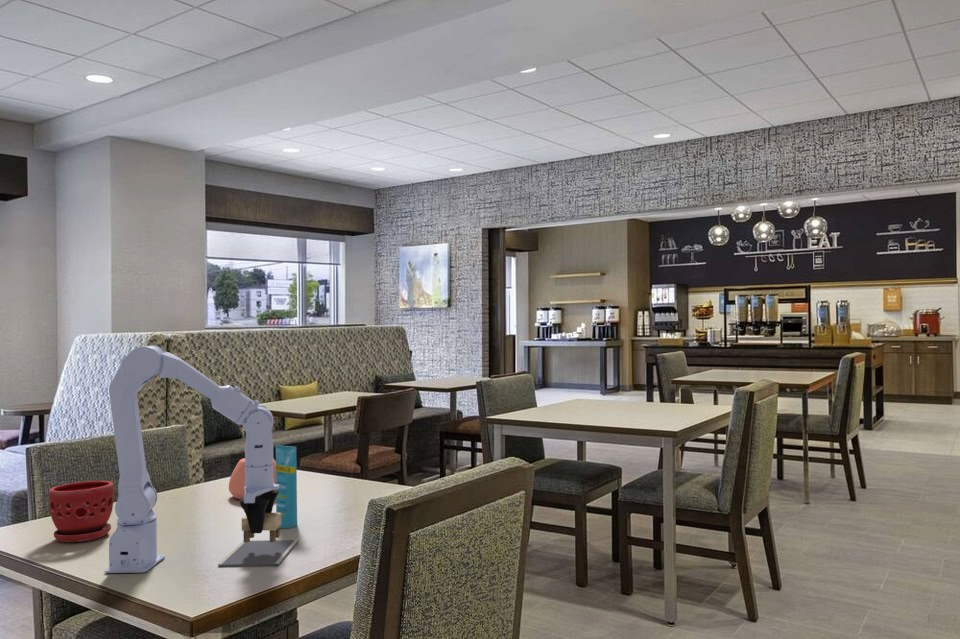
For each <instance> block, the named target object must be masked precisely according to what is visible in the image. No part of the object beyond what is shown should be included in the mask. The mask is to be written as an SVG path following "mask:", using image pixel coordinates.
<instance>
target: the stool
mask: <svg viewBox="0 0 960 639" xmlns="http://www.w3.org/2000/svg"><path fill="white" fill-rule="evenodd" d="M280 525H281V513H276V512H272V513H265V515H264V524H263V530H262V531H269V540H270V542H275V541H276V540H277V539H279V538H280V537H281V534H280V529H281V528H280ZM241 531H242V532H243V541H244V542H249V541H251V539H254V538H255V533H251V531H250V528H249V524H248V520H247V516H246V514H245V515H243V517H241Z"/></svg>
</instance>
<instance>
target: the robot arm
mask: <svg viewBox="0 0 960 639" xmlns="http://www.w3.org/2000/svg"><path fill="white" fill-rule="evenodd" d="M158 375H159V378H164V379H165V378H167V379H176V380H178V381H180V382H182V383H183V384H185V385H187V386H188V387H190V388H192V389H193V390H195V391H196V392H199V393H200V394H201V395H203V396H205V397H207V398H208V399H210V401H211V407H212V409H214V410H215V411H216V412H218V413H220V414H221V415H223V416H224V417H225V418H227V419H228V420H230V421H232V422H233V423H234V424H236V425H242V427H243V430H244V432H245V443H244V449H245V451H244V458H245V487H244V491H245V493H244V498H243V499H239V500H240V501H239V503H240V504H239V505H240V507H241V508H242V510H243V512H244V513H245V515H246V516H247V520H248V524H249V528H250V531H251V533H254V534H261V533H263V531H264V530H263V524H264V515H265V513H273V508H274V504H275V502H276V497H277V495H278V490H276V489H278V488H279V484H274V471H273V459H274V441H273V438H274V437H273V432H272V431H273V430H272V429H273V427H274V416H273V413H272V412H271V410H269V408H267V406H265V405H262V404H261V403H260V401H258V400H257V399H255V401H254V400H252V398H250V397H249V396H247V395H245V394H244V393H242V392H241V388H240V387H239V386H237V385H235V386H234V387H233V386H232V385H230V384H227V385H222V386H221V385H219V384H218V383H216V382H214V381H213V380H212V379H210V378H209V377H207V376H206V375H204V373H201V371H199V370H198V369H196V368H194V367H193V366H192V365H190V364H189V363H188V362H186V361H185V360H183V359H182V358H181V357H178V356H177V355H175V354H173V353H171V352H168V351H165V350H164V349H163V348H161V347H160V346H157V345H152V344H151V345H146V346H138V347H136V348H135V349H133V350H132V351H130V352H128V354H127V355H126V356H125V357H123V358H122V360H121V362H120V365H119V367H118V369H117V371H116V373H115V375H114V377H113V378H112V381H111V382H110V385H109V387H108V394H109V395H108V396H109V402H110V409H111V417H112V425H113V434H114V442H115V447H116V448H115V449H116V455H117V456H116V457H117V464H118V472H119V479H118V485H117V494H118V497H117V500H116V502H115V507H114V512H115V515H116V517H117V519H116V522H117V523H116V529H115V531H114V532H113V533H112V535H111V536H110V538H109V541H108V555H109V557H108V560H109V561H108V563H109V564H108V565H109V566H108V568H106V569H105V570H104V573H105V574H117V573H118V574H125V573H128V574H129V573H130V574H132V573H140V574H141V573H146V572H147V571H149V570H150V569H152V568H153V567H154V566H156V565H157V564H158V563H160V562H161V561H162V560H164V559H165V558H166V556H165V554H158V544H157V543H158V541H157V540H158V538H157V537H158V535H157V532H158V530H157V528H158V527H157V526H158V525H157V517H158V516H157V514H156V513H155V512H154V510H153V508H154V507H155V506H156V504H157V503H158V502H157V501H158V493H157V490H156V488H155V487H154V486H153V484H152V482H151V476H150V474H149V472H148V470H147V462H146V454H145V448H144V447H145V446H144V440H143V432H142V424H141V423H142V422H141V418H140V417H141V416H140V408H139V400H138V393H139V392H140V391H141V390H142V389H143V387H144V386H145V385H146V384H147V383H148V381H150V380H152V379H154V378H155V377H156V376H158ZM260 404H261V405H260Z"/></svg>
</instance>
